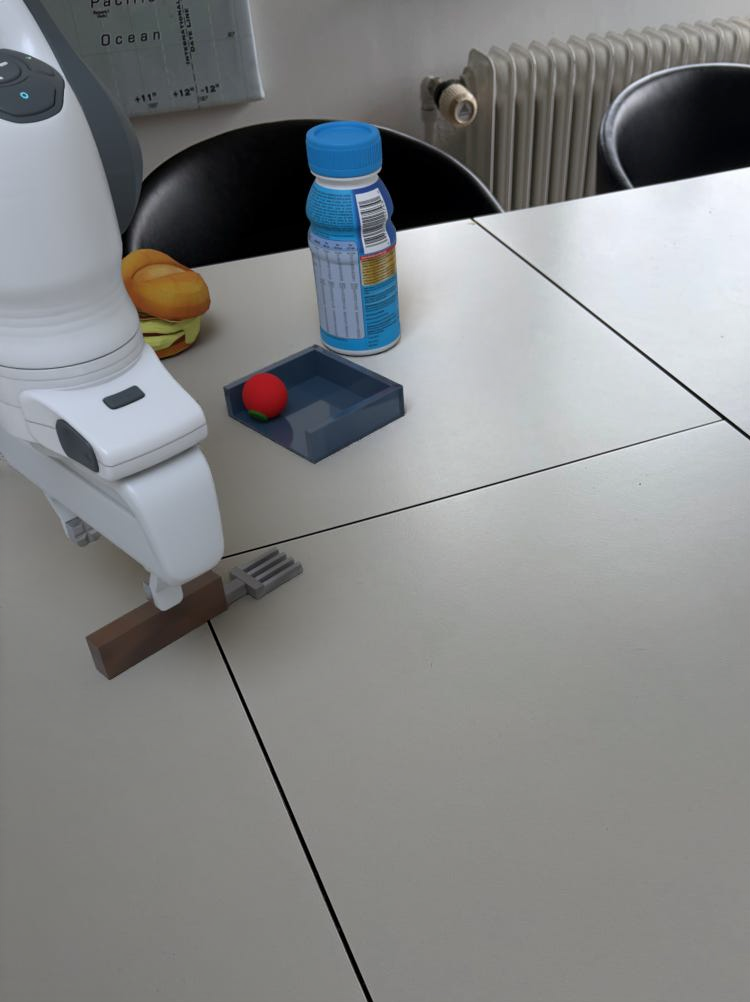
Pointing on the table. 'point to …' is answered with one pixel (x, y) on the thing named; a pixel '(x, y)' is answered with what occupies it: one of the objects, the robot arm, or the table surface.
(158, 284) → the cheeseburger
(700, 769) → the table surface
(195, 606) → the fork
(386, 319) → the beverage bottle
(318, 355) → the tray
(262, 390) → the tomato
